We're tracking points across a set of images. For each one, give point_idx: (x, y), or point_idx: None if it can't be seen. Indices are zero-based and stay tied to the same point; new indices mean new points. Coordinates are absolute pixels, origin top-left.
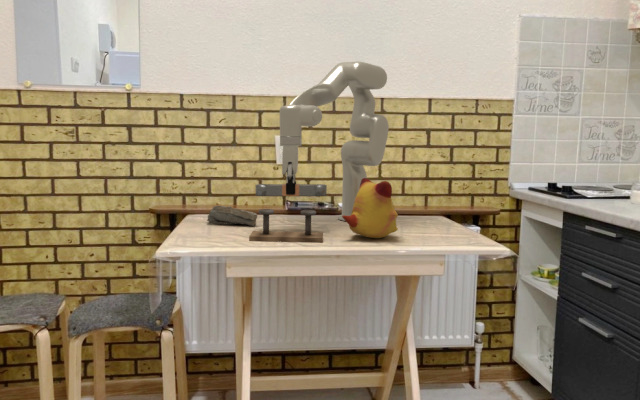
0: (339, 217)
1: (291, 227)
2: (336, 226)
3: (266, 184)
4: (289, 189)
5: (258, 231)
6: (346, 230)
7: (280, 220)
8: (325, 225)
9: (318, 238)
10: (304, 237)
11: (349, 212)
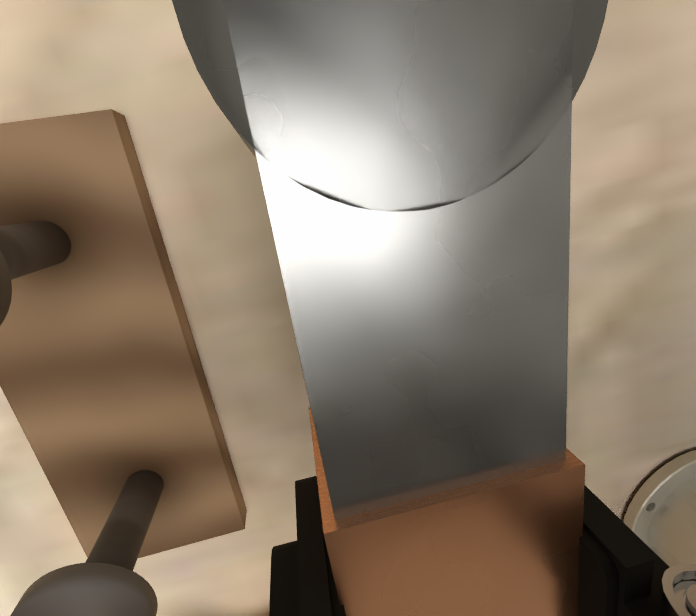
0: (677, 470)
1: None
2: None
3: (517, 86)
4: (275, 600)
5: (112, 160)
6: None
7: (661, 172)
8: None
9: (86, 550)
10: (57, 491)
11: (682, 538)
